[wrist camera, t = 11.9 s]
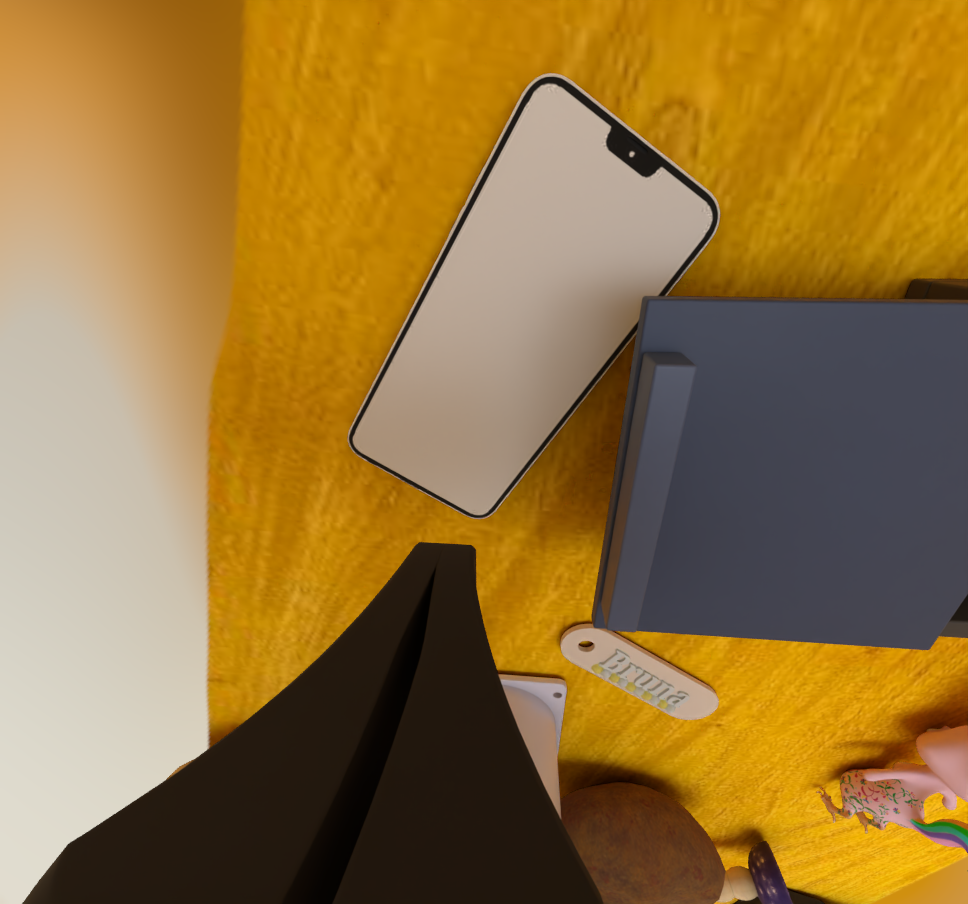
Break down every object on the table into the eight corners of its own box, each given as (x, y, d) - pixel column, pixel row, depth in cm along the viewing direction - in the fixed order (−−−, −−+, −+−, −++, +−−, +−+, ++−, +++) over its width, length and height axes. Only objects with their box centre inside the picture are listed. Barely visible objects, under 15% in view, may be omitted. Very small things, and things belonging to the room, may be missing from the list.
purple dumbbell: (808, 954, 28) (556, 958, 32) (777, 878, 33) (559, 890, 36) (788, 885, 28) (537, 898, 32) (759, 819, 33) (542, 837, 36)
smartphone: (338, 446, 19) (539, 54, 12) (344, 439, 20) (539, 62, 13) (484, 526, 20) (735, 211, 14) (485, 518, 21) (727, 212, 14)
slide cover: (916, 637, 16) (960, 683, 14) (590, 615, 17) (598, 657, 15) (1136, 301, 11) (1246, 315, 9) (641, 295, 11) (661, 307, 10)
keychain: (549, 655, 24) (585, 624, 23) (549, 645, 24) (584, 615, 23) (692, 731, 26) (732, 707, 25) (689, 721, 26) (728, 697, 25)
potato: (705, 779, 31) (684, 877, 31) (546, 735, 32) (524, 831, 32) (760, 863, 24) (733, 990, 24) (557, 805, 25) (529, 928, 25)
